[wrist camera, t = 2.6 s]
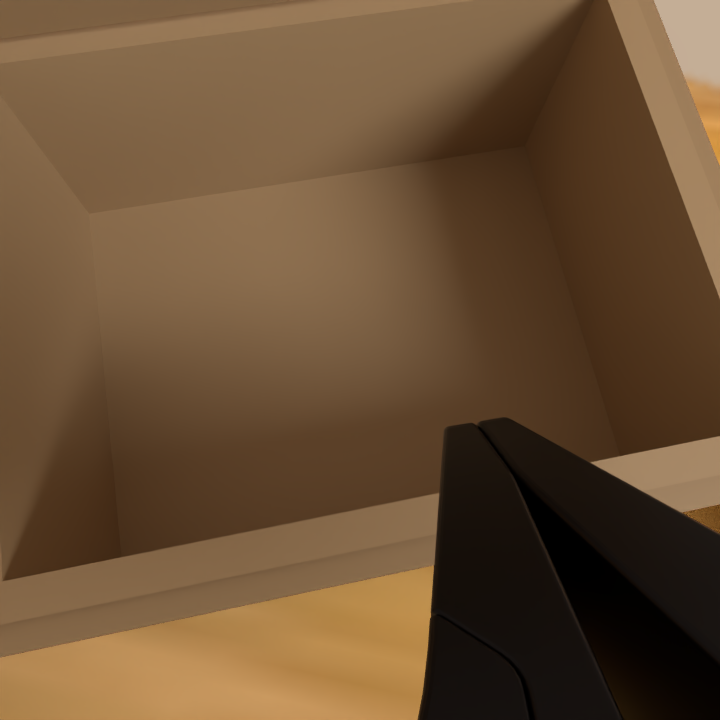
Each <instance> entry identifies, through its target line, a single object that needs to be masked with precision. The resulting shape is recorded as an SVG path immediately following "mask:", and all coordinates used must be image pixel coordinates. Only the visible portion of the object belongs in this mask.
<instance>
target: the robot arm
mask: <svg viewBox="0 0 720 720" xmlns="http://www.w3.org/2000/svg"><path fill="white" fill-rule="evenodd" d="M418 720H720V534H719V533H718V532H716V531H714V530H712V529H710V528H708V527H707V526H705V525H703V524H701V523H699V522H698V521H696V520H694V519H692V518H690V517H688V516H687V515H685V514H683V513H681V512H679V511H678V510H676V509H674V508H672V507H670V506H668V505H667V504H665V503H663V502H661V501H659V500H657V499H656V498H654V497H652V496H650V495H648V494H647V493H645V492H643V491H641V490H639V489H637V488H636V487H634V486H632V485H630V484H628V483H627V482H625V481H623V480H621V479H619V478H617V477H616V476H614V475H612V474H610V473H608V472H607V471H605V470H603V469H601V468H599V467H597V466H596V465H594V464H592V463H590V462H588V461H586V460H585V459H583V458H581V457H579V456H577V455H576V454H574V453H572V452H570V451H568V450H566V449H565V448H563V447H561V446H559V445H557V444H556V443H554V442H552V441H550V440H548V439H546V438H545V437H543V436H541V435H539V434H537V433H536V432H534V431H532V430H530V429H528V428H526V427H525V426H523V425H521V424H519V423H517V422H516V421H514V420H512V419H510V418H507V417H500V418H495V419H489V420H483V421H479V422H478V423H477V424H474V423H465V424H459V425H453V426H448V427H446V428H445V429H444V433H443V447H442V461H441V475H440V489H439V504H438V518H437V532H436V546H435V560H434V574H433V589H432V603H431V618H430V625H429V640H428V652H427V661H426V669H425V678H424V687H423V695H422V700H421V705H420V710H419V715H418Z"/></svg>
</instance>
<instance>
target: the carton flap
mask: <svg viewBox="0 0 720 720" xmlns="http://www.w3.org/2000/svg"><path fill="white" fill-rule="evenodd" d="M286 1H293V0H0V39H2V38H9V37H17V36H25V35H33V34H40V33H48V32H56V31H63V30H71V29H79V28H86V27H94V26H102V25H109V24H117V23H125V22H132V21H140V20H148V19H155V18H163V17H171V16H178V15H186V14H194V13H201V12H209V11H217V10H224V9H232V8H240V7H247V6H255V5H263V4H270V3H278V2H286Z"/></svg>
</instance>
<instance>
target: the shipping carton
mask: <svg viewBox="0 0 720 720" xmlns="http://www.w3.org/2000/svg"><path fill="white" fill-rule="evenodd" d="M500 417H507V418H510V419H512V420H514V421H516V422H517V423H519V424H521V425H523V426H525V427H526V428H528V429H530V430H532V431H534V432H536V433H537V434H539V435H541V436H543V437H545V438H546V439H548V440H550V441H552V442H554V443H556V444H557V445H559V446H561V447H563V448H565V449H566V450H568V451H570V452H572V453H574V454H576V455H577V456H579V457H581V458H583V459H585V460H586V461H588V462H590V463H592V464H594V465H596V466H597V467H599V468H601V469H603V470H605V471H607V472H608V473H610V474H612V475H614V476H616V477H617V478H619V479H621V480H623V481H625V482H627V483H628V484H630V485H632V486H634V487H636V488H637V489H639V490H641V491H643V492H645V493H647V494H648V495H650V496H652V497H654V498H656V499H657V500H659V501H661V502H663V503H665V504H667V505H668V506H670V507H672V508H674V509H676V510H678V511H679V512H681V513H682V512H686V511H691V510H696V509H701V508H705V507H710V506H715V505H719V504H720V166H719V163H718V161H717V158H716V156H715V153H714V151H713V148H712V146H711V143H710V141H709V138H708V136H707V133H706V131H705V128H704V126H703V123H702V121H701V118H700V116H699V113H698V111H697V108H696V106H695V103H694V101H693V98H692V96H691V93H690V91H689V88H688V86H687V83H686V81H685V78H684V76H683V73H682V71H681V68H680V66H679V63H678V60H677V58H676V56H675V53H674V50H673V48H672V46H671V43H670V40H669V38H668V35H667V33H666V31H665V28H664V25H663V23H662V20H661V18H660V15H659V13H658V10H657V8H656V5H655V3H654V0H293V1H286V2H278V3H270V4H263V5H255V6H247V7H240V8H232V9H224V10H217V11H209V12H201V13H194V14H186V15H178V16H171V17H163V18H155V19H148V20H140V21H132V22H125V23H117V24H109V25H102V26H94V27H86V28H79V29H71V30H63V31H56V32H48V33H40V34H33V35H25V36H17V37H9V38H2V39H0V657H5V656H9V655H14V654H19V653H23V652H28V651H33V650H37V649H42V648H47V647H52V646H56V645H61V644H66V643H70V642H75V641H80V640H84V639H89V638H94V637H99V636H103V635H108V634H113V633H117V632H122V631H127V630H132V629H136V628H141V627H146V626H150V625H155V624H160V623H164V622H169V621H174V620H179V619H183V618H188V617H193V616H197V615H202V614H207V613H211V612H216V611H221V610H226V609H230V608H235V607H240V606H244V605H249V604H254V603H258V602H263V601H268V600H273V599H277V598H282V597H287V596H291V595H296V594H301V593H306V592H310V591H315V590H320V589H324V588H329V587H334V586H338V585H343V584H348V583H353V582H357V581H362V580H367V579H371V578H376V577H381V576H385V575H390V574H395V573H400V572H404V571H409V570H414V569H418V568H423V567H428V566H432V565H434V560H435V546H436V532H437V518H438V504H439V489H440V475H441V461H442V447H443V433H444V429H445V428H446V427H448V426H453V425H459V424H465V423H474V424H477V423H478V422H479V421H483V420H489V419H495V418H500Z"/></svg>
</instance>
